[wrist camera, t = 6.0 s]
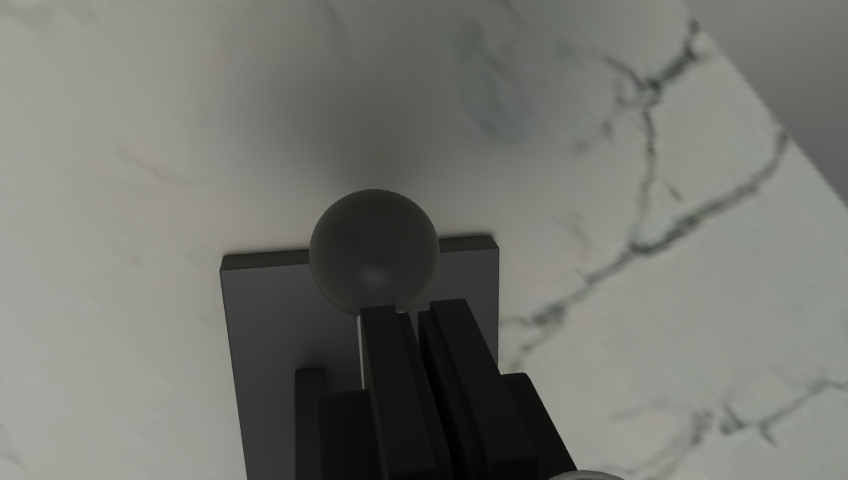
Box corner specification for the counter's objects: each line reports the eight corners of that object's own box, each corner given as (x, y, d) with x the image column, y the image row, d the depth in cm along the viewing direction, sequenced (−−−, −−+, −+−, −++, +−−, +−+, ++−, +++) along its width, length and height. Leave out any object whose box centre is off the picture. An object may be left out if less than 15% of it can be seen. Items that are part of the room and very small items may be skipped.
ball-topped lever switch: (305, 200, 20) (302, 186, 17) (425, 192, 20) (444, 177, 17) (341, 661, 19) (345, 737, 16) (462, 642, 20) (489, 712, 17)
